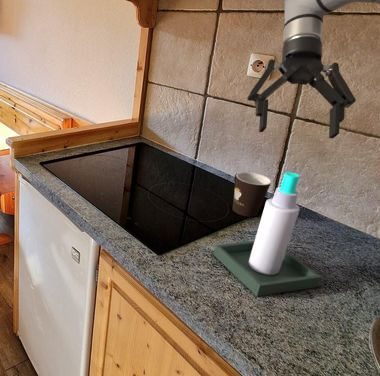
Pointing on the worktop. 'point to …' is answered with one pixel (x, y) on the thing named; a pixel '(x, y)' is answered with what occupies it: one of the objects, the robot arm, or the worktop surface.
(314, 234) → the worktop surface
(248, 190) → the coffee mug
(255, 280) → the tray
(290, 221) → the spray bottle
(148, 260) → the worktop surface
